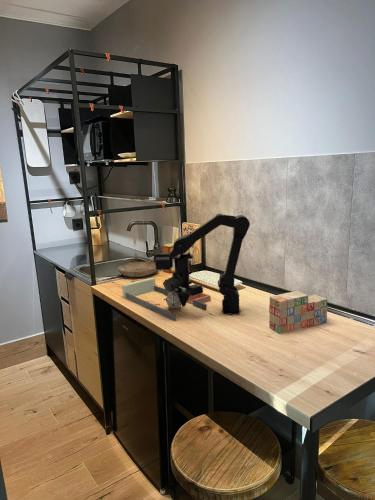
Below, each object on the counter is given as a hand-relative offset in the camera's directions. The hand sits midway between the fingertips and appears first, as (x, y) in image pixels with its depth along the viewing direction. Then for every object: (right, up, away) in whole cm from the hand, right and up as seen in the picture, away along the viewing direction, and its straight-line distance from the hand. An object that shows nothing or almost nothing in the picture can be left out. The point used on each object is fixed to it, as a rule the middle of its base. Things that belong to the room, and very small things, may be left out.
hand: (183, 306), depth 152 cm
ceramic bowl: (-26, +9, +62) cm, 68 cm away
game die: (-4, -2, +5) cm, 7 cm away
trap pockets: (+4, +1, +16) cm, 17 cm away
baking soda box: (-7, +10, +66) cm, 67 cm away
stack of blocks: (+42, -5, -16) cm, 45 cm away
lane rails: (-9, -1, +11) cm, 14 cm away
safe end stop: (-21, +2, +27) cm, 34 cm away
